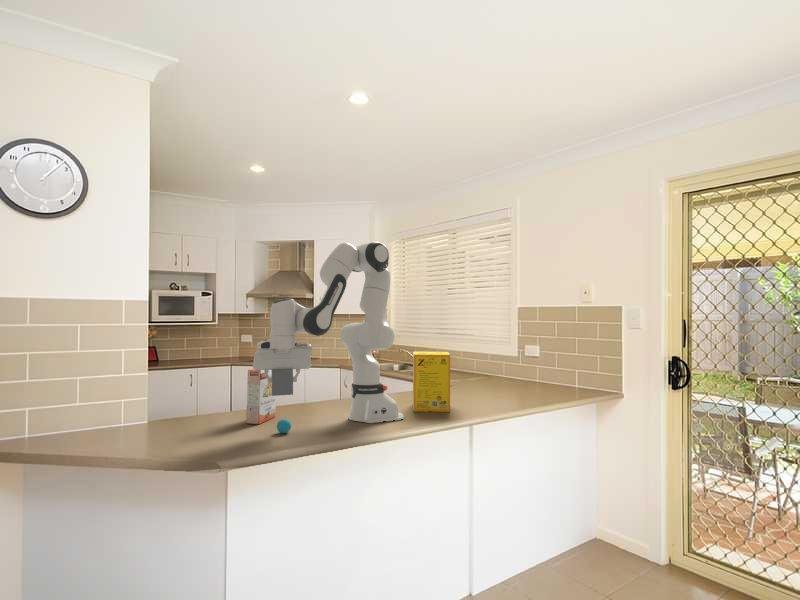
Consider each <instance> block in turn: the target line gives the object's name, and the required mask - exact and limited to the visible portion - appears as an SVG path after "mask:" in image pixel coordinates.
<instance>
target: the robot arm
mask: <svg viewBox="0 0 800 600" xmlns="http://www.w3.org/2000/svg"><path fill="white" fill-rule="evenodd" d="M389 254H390V253H389V249H388V247H387V246H386V245H385V244H384V243H382V242H380V241H372V242H367V243H362V244H361V245H357V246H354V245H353V244H351V243H349V242H342V243H340V244H338V245H336V247H335V248H334V249H333V250H332V251H331V253H330V254H329V255H328V257H327V258H326V259H325V260H324V262H323V264H322V266H321V268H320V271H319V277H320V279H321V281H322V283H323V284H324V285H326V289H325V292H324V294H323V295H322V298H321V299H320V301H319V303H318V304H317V305H316V306H314V307H306V306H303V305H302V304H299V303H298V302H297V301H295V299H294V298H292V297H287V298H280V299H276V300H274V301H273V302H272V304H271V307H270V315H269V316H270V317H269V318H270V319H269V324H270V327H271V330H270V333H269V339H264V340H262V341H259V342H258V343H257V344H256V348H257V349H256V351H255V352H254V355H253V356H254V357H253V361H252V369H254V370H264V373H265V375H266V377H267V378H268V383H272V377H269V375H268V374H267V373H268V371H269V370H280V369H293V370H295V372H296V373H295V375H293V383H297V380H298V376H299V374H300V373H301V370H308V369H310V368H311V367H312V360H311V359H312V358H311V355H312V354H313V347H312V345H311V344H309V343H307V342H304V343H301V342H296V333H297V334H304V335H313V336H316V337H319V336H324V335H325V334H327V332H329V330H330V329H331V326H332V324H333V318H334V314H335V311H336V310H337V307H338V305H339V303H340V301H341V299H342V297H343V296H344V293H345V291H346V288H347V283H348V282H347V281H348V278H349V277H350V275H351V273H352V272H355V273H360V272H364V278H365V279H364V283H363V288H362V292H361V297H360V303H359V308H360V310H361V311H362V312H363V313H364V314H365V322H351V323H348V324H345V325H344V326H343V327H342V328H341V331H340V341H341V343H342V344H343V346H345V348H346V350H348V353H349V356H350V359H351V362H352V363H351V364H352V383H351V391H350V392H351V394H350V395H351V403H350V404H351V406H350V410H349V415H348V420H349V421H354V422H362V423H367V424H375V423H383V421H386V422H392V421H393V420H395V421H402V420H401V419H403V420H404V418H405V416H404V414H403V413H402V412H400V411H399V406H398V404H397V402H396V400H395V399H393V398H392V397H391V396H390V395H388V394H387V393H386V392H385V391H387V390H388V386H387V385H386V384H383V383H381V365H380V362H379V361H378V360H377V359H376V358H375V357H374V355H373V352H372V351H383V350H387V349H390V348H391V347H392V346H393V344H394V342H395V332H394V330H393V327H391V326H390V324H389V322H388V319H387V318H388V317H387V308H388V307H387V306H388V299H389V294H390V287H391V272H390V271H389V269H388V268H387V267H388V266H389V260H390V255H389ZM393 422H394V421H393Z"/></svg>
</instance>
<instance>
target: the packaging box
mask: <svg viewBox="0 0 800 600" xmlns="http://www.w3.org/2000/svg"><path fill="white" fill-rule="evenodd" d="M412 355H413V356H412V357H413V358H412V359H413V360H412V364H413V365H412V366H413V367H412V370H413V372H412V378H413V379H412V411H413V412H428V411H432V412H431V413H433V412H435V413H436V412H437V413H438V412H439V413H440V412H443V413H446V412H448V413H451V354H450V353H449V351H413V354H412Z"/></svg>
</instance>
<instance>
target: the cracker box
mask: <svg viewBox="0 0 800 600" xmlns="http://www.w3.org/2000/svg"><path fill="white" fill-rule="evenodd" d="M267 374H268V375H269V377H272V370H269V371H268V373H267ZM246 384H247V386H246V387H247V388H246V389H247V390H246V391H247V392H246V418H245V420H246V422H245V423H246V424H248V425H261V424H262V423H264V422H265V423H266V422H267V421H269V420H272V419H274V418H276V414H277V413H276V411H277V410H276V408H277V407H276V406H277V396H272V383H268V378H267V377H266V375H265V373H264V370H254V369H253V368H250V369H247V383H246Z"/></svg>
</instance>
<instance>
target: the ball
mask: <svg viewBox="0 0 800 600" xmlns="http://www.w3.org/2000/svg"><path fill="white" fill-rule="evenodd" d="M291 428H292V423H291V421H290V420H289V419H287V418H282V419H280V420H278V422H276V430H277V431H278V433H281V434H287V433H289V432H290V431H291Z"/></svg>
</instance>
